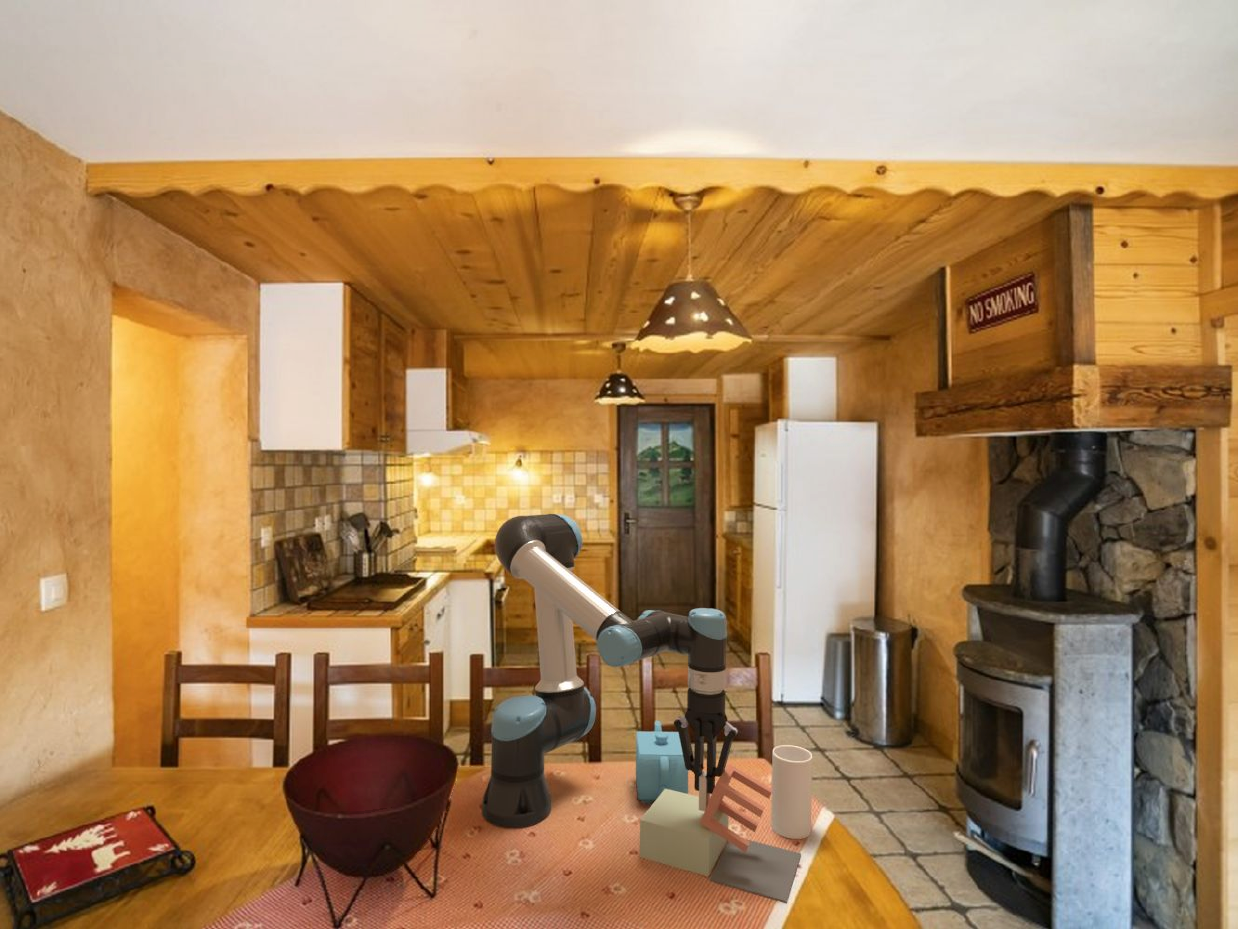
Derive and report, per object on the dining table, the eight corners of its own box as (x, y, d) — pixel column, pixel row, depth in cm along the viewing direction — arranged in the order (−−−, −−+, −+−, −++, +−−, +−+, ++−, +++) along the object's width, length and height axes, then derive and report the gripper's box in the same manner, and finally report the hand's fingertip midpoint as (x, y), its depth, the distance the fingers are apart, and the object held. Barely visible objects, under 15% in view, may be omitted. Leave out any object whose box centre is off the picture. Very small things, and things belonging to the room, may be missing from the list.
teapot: (689, 814, 143) (690, 751, 144) (638, 814, 143) (640, 751, 143) (678, 768, 165) (679, 714, 166) (634, 768, 165) (635, 713, 165)
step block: (639, 856, 127) (640, 819, 127) (664, 822, 140) (665, 788, 140) (708, 876, 121) (709, 838, 121) (728, 838, 134) (728, 803, 134)
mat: (709, 880, 120) (709, 879, 120) (731, 837, 135) (731, 835, 135) (786, 903, 115) (786, 901, 115) (800, 854, 129) (800, 853, 129)
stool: (699, 823, 125) (716, 782, 124) (713, 801, 133) (728, 763, 132) (745, 852, 121) (763, 811, 120) (756, 828, 129) (772, 789, 128)
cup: (812, 841, 134) (814, 763, 134) (771, 836, 136) (773, 759, 136) (809, 820, 142) (810, 747, 142) (770, 815, 144) (772, 743, 144)
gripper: (669, 688, 129) (666, 808, 128) (733, 699, 123) (731, 825, 123) (681, 678, 135) (679, 792, 135) (743, 688, 130) (741, 806, 130)
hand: (704, 807), depth 129 cm, fingers closed
